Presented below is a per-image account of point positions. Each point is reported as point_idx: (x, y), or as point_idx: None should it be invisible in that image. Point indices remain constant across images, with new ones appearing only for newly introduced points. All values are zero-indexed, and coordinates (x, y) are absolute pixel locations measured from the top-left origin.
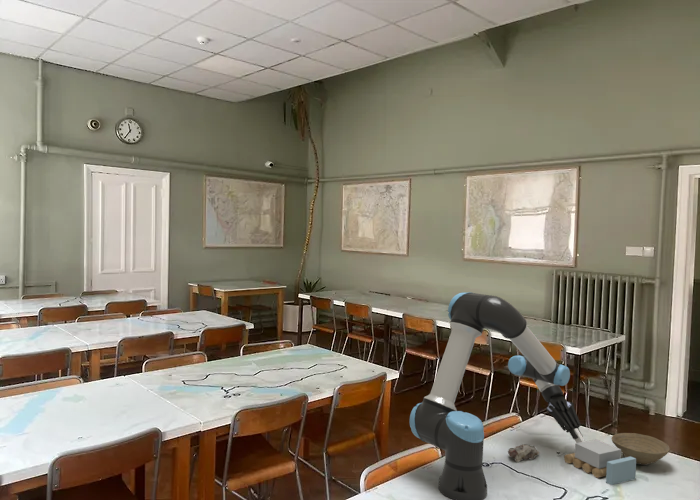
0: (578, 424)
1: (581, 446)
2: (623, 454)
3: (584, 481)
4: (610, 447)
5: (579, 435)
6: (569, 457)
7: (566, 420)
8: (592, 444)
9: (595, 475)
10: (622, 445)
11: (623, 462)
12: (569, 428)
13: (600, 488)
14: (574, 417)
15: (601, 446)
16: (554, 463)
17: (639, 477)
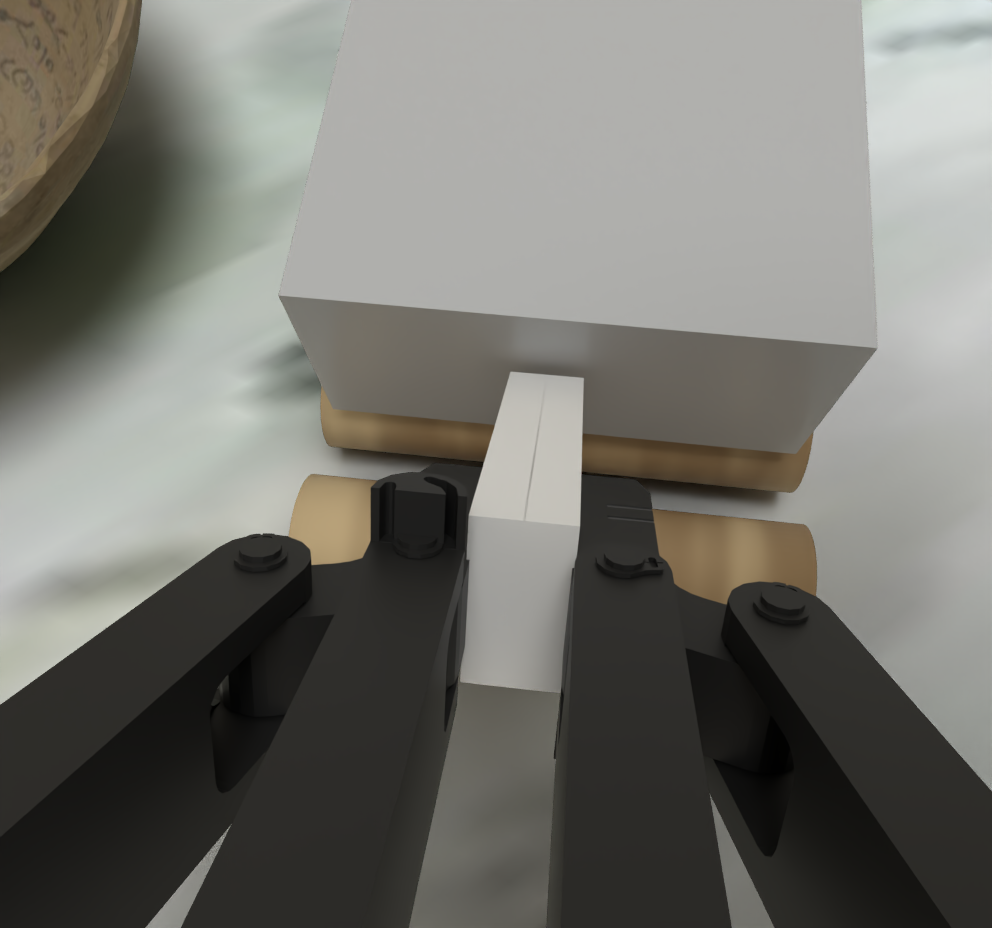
0: (305, 561)
1: (869, 228)
2: (11, 257)
3: (987, 214)
4: (443, 13)
5: (551, 448)
6: (809, 538)
7: (694, 745)
8: (607, 185)
9: None
10: (107, 52)
11: None
12: (705, 604)
13: (948, 74)
14: (136, 764)
15: (538, 86)
16: (969, 685)
17: None
